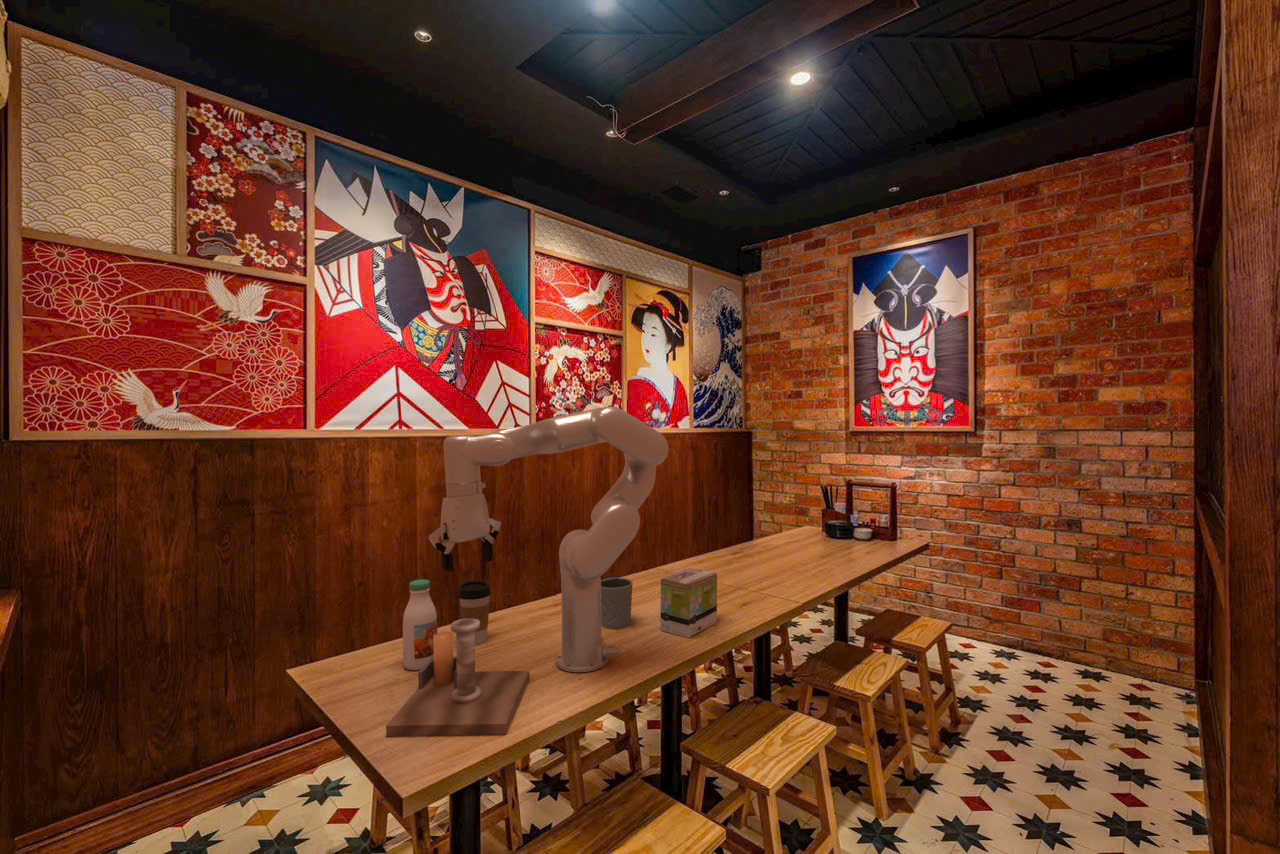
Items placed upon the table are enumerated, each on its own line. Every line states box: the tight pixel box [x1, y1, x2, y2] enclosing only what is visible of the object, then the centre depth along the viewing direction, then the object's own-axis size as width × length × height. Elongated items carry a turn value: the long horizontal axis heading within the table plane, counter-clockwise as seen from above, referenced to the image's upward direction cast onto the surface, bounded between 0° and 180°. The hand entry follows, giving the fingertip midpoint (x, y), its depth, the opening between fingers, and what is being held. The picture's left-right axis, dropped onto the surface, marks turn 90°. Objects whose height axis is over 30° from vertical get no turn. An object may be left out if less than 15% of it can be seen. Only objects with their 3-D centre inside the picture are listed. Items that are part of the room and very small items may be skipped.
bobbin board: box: [385, 618, 530, 738], centre depth 112 cm, size 22×22×17 cm
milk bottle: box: [402, 579, 438, 671], centre depth 132 cm, size 8×8×20 cm
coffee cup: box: [457, 580, 492, 646], centre depth 146 cm, size 8×8×15 cm
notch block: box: [417, 656, 457, 689], centre depth 119 cm, size 8×8×4 cm
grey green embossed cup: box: [601, 577, 634, 630], centre depth 157 cm, size 10×10×12 cm
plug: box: [433, 631, 454, 686], centre depth 118 cm, size 4×4×10 cm
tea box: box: [659, 567, 718, 639], centre depth 154 cm, size 15×10×15 cm, turn 143°
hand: (468, 565), depth 123 cm, fingers open, 9 cm apart
